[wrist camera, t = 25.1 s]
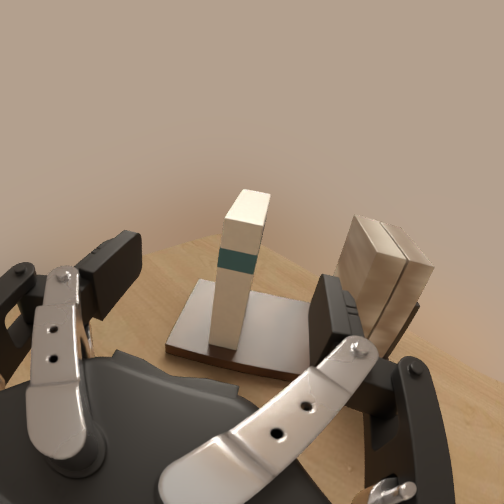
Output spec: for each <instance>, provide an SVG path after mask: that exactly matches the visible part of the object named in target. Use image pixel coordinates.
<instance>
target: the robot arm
mask: <svg viewBox="0 0 504 504" xmlns="http://www.w3.org/2000/svg"><path fill="white" fill-rule="evenodd" d="M141 269H142V240H141V235H140V234H139V233H136V232H131V231H127V230H124V231H122V232H121V233H120V234H119V235H117V236H116V237H115V238H112V239H110V240H107V241H105V242H103V243H102V244H100V245H99V246H98V247H97V248H96V249H94V250H93V251H92V252H91V253H89V254H88V255H87V256H86V257H85V258H84V259H82V260H81V261H80V262H79V263H78V264H76V266H74V267H72V266H61V267H57V268H55V269H53V270H52V271H51V272H50V273H49V274H48V276H47V275H36V271H35V267H34V265H33V264H32V263H29V262H23V263H19V264H17V265H15V266H13V267H12V268H11V269H10V270H8V271H7V272H6V273H5V274H4V275H3V276H2V277H0V504H332V503H331V502H330V501H329V500H328V498H327V497H326V496H325V495H324V494H323V492H322V491H321V490H320V488H319V487H318V486H317V485H316V483H315V482H314V481H313V480H312V478H311V477H310V476H309V474H308V473H307V472H306V470H305V469H304V468H303V466H302V465H301V464H300V462H299V461H298V460H297V457H298V456H299V455H300V454H301V453H302V452H303V451H304V450H305V449H306V448H307V447H308V446H309V445H310V444H311V443H312V442H313V440H314V439H315V438H316V437H317V436H318V435H319V434H320V433H321V432H322V431H323V430H324V428H325V427H326V426H327V425H328V424H329V423H330V422H331V420H332V419H333V418H334V417H335V416H336V415H337V413H338V412H339V411H340V410H341V409H342V407H343V406H347V407H350V408H352V409H355V410H358V411H361V412H363V421H364V444H365V489H364V490H362V491H360V492H359V493H358V494H357V495H356V496H355V497H354V499H353V500H352V503H351V504H455V493H454V483H453V475H452V467H451V460H450V454H449V448H448V443H447V438H446V433H445V428H444V424H443V419H442V415H441V411H440V407H439V403H438V399H437V395H436V392H435V388H434V385H433V381H432V378H431V375H430V372H429V369H428V367H427V366H426V365H425V364H424V363H423V362H422V361H421V360H419V359H418V358H415V357H412V356H406V357H403V358H402V359H401V360H400V361H399V363H398V364H396V363H393V362H391V361H388V360H385V359H383V358H381V357H379V353H378V350H377V348H376V346H375V345H374V344H373V343H372V342H371V341H369V340H368V339H366V338H365V336H364V332H363V328H362V324H361V320H360V317H359V313H358V309H357V306H356V302H355V299H354V298H353V297H352V295H351V294H350V293H349V291H346V290H342V286H341V282H340V279H339V277H335V276H330V275H325V274H322V275H321V276H320V278H319V281H318V284H317V287H316V289H315V292H314V295H313V298H312V300H311V303H310V307H309V312H308V328H309V357H310V367H309V368H308V369H306V370H305V371H304V372H303V373H302V374H301V375H300V376H299V377H297V378H296V379H295V380H294V381H293V382H292V383H290V384H289V385H288V386H287V387H286V388H285V389H283V390H282V391H281V392H280V393H279V394H277V395H276V396H275V397H274V398H272V399H271V400H270V401H269V402H267V403H266V404H265V405H264V406H262V407H261V408H260V409H259V408H258V407H257V406H256V405H254V404H253V403H251V402H250V401H248V400H246V399H245V398H243V397H241V396H239V395H238V390H239V386H237V385H232V384H228V383H223V382H219V381H215V380H211V379H207V378H191V377H177V376H171V375H169V374H167V373H165V372H163V371H162V370H160V369H158V368H157V367H155V366H153V365H152V364H150V363H149V362H147V361H145V360H144V359H141V358H138V357H135V356H133V355H130V354H127V353H125V352H122V351H119V350H117V349H116V351H115V352H114V354H113V356H112V357H95V355H94V348H93V340H92V331H91V324H90V319H91V318H92V317H94V318H96V319H99V320H101V321H103V319H104V318H105V317H106V316H107V314H108V313H109V312H110V311H111V309H112V308H113V307H114V306H115V304H116V303H117V302H118V301H119V299H120V298H121V297H122V296H123V294H124V293H125V292H126V291H127V290H128V288H129V287H130V286H131V285H132V284H133V282H134V281H135V280H136V279H137V278H138V276H139V275H140V272H141ZM16 304H18V307H19V310H20V312H21V315H20V316H19V317H18V318H17V319H16V320H15V321H14V323H13V324H12V325H11V326H10V327H9V328H8V330H7V329H6V326H5V317H6V315H7V313H8V312H9V311H10V310H11V309H12V308H13V307H14V306H15V305H16ZM30 349H31V370H30V380H29V381H26V382H23V383H21V384H18V385H15V386H12V387H10V388H7V389H5V386H6V384H7V383H8V381H9V380H10V378H11V377H12V375H13V374H14V372H15V371H16V369H17V368H18V366H19V365H20V363H21V362H22V361H23V359H24V358H25V356H26V355H27V353H28V352H29V351H30Z"/></svg>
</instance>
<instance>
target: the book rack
mask: <svg viewBox="0 0 504 504" xmlns="http://www.w3.org/2000/svg"><path fill="white" fill-rule="evenodd" d="M433 269H434V266H433V264H432V263H431V262H430V261H429V259H428V258H427V257H426V256H425V255H424V253H423V252H422V251H421V250H420V249H419V247H418V246H417V245H416V244H415V243H414V242H413V240H412V239H411V238H410V237H409V236H408V235H407V234H406V233H405V232H404V230H403V229H402V228H401V227H397V226H394V225H391V224H387V223H384V222H378V221H377V220H373V219H369V218H366V217H362V216H359V215H354V217H353V220H352V223H351V226H350V229H349V232H348V235H347V238H346V241H345V244H344V247H343V250H342V252H341V255H340V258H339V261H338V264H337V266H336V269H335V272H334V275H333V276H335V277H339V279H340V282H341V286H342V290H346V291H349V293H350V294H351V295H352V297H353V298H354V299H355V302H356V306H357V309H358V313H359V317H360V320H361V324H362V328H363V332H364V336H365V338H366V339H368V340H369V341H371V342H372V343H373V344H374V345H375V346H376V348H377V350H378V353H379V357H381V358H383V359H385V360H388V357H389V355H390V354H391V352H392V351H393V349H394V348H395V346H396V345H397V343H398V342H399V340H400V339H401V337H402V336H403V334H404V333H405V331H406V329H407V328H408V326H409V324H410V323H411V321H412V319H413V318H414V316H415V314H416V313H417V311H418V309H419V307H420V305H419V303H418V302H417V301H418V299H419V297H420V295H421V293H422V291H423V289H424V287H425V286H426V284H427V282H428V280H429V277H430V275H431V273H432V272H433ZM215 283H216V282H212V281H207V280H203V279H199V280H198V282H197V284H196V286H195V287H194V289H193V291H192V293H191V295H190V297H189V299H188V301H187V303H186V305H185V306H184V308H183V310H182V312H181V314H180V316H179V318H178V320H177V322H176V324H175V326H174V328H173V330H172V332H171V333H170V335H169V337H168V339H167V341H166V343H165V348H166V352H167V353H170V354H174V355H177V356H180V357H184V358H187V359H191V360H195V361H198V362H202V363H206V364H210V365H214V366H218V367H222V368H226V369H231V370H235V371H240V372H244V373H249V374H254V375H259V376H265V377H270V378H276V379H282V380H288V381H294V380H295V379H296V378H297V377H299V376H300V375H301V374H302V373H303V372H304V371H305V370H306V369H308V368H309V367H310V357H309V328H308V312H309V307H310V303H309V302H304V301H299V300H294V299H289V298H284V297H279V296H274V295H270V294H265V293H260V292H256V291H251V290H250V295H249V300H248V304H247V308H246V313H245V317H244V321H243V326H242V330H241V334H240V339H239V343H238V347H237V350H233V349H228V348H224V347H220V346H215V345H211V344H209V334H210V325H211V316H212V307H213V299H214V291H215ZM388 361H389V360H388Z"/></svg>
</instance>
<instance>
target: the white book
mask: <svg viewBox="0 0 504 504" xmlns="http://www.w3.org/2000/svg"><path fill="white" fill-rule="evenodd" d="M270 197H271V195H270V194H266V193H261V192H257V191H252V190H246V189H243V190H242V192H241V193H240V195H239V196H238V198H237V199H236V201H235V203H234V204H233V206H232V207H231V209H230V210H229V212H228V214H227V215H226V217H225V218H224V224H223V231H222V238H221V245H220V250H219V257H218V264H217V275H216V283H215V291H214V299H213V307H212V316H211V325H210V334H209V344H211V345H215V346H220V347H224V348H228V349H233V350H237V347H238V343H239V339H240V334H241V330H242V326H243V321H244V317H245V313H246V308H247V304H248V300H249V295H250V290H251V286H252V281H253V277H254V272H255V267H256V263H257V258H258V253H259V249H260V244H261V239H262V235H263V230H264V226H265V221H266V216H267V210H268V206H269V201H270Z"/></svg>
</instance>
